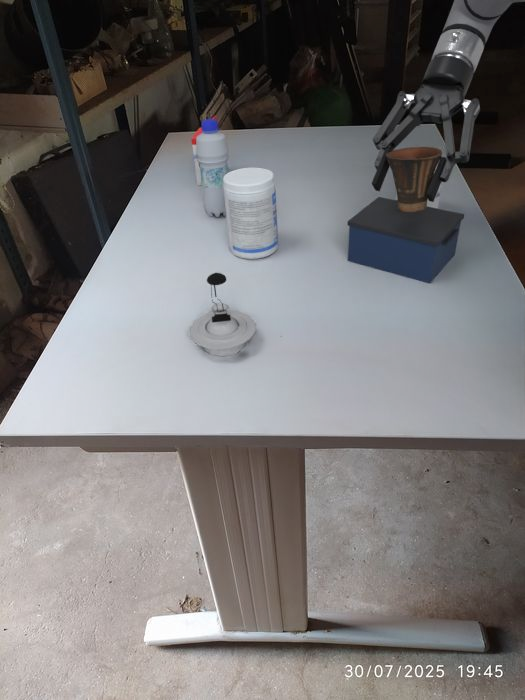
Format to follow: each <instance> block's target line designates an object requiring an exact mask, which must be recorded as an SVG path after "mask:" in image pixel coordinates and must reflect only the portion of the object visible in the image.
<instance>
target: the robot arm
mask: <svg viewBox="0 0 525 700" xmlns="http://www.w3.org/2000/svg"><path fill="white" fill-rule="evenodd" d="M514 3H525V0H453V3H452V6H451V9H450V11H449V14H448V16H447V19H446V22H445V24H444V27H443V29H442V32H441V34H440V36H439V39H438V41H437V44H436V46H435V48H434V51H433V53H432V55H431V59H430V61H429V63H428V65H427V68H426V70H425V73H424V76H423V78H422V81H421V84H420V87H419V88H418V89H417V91H416V92H415V93H406V92H405V90H401V91H399V92H398V94H397V98H396V102H395V104H394V105H393V107H392V108H391V111H389V113H388V115H387V116H386V118H385V119H384V121H383V122H382V124H381V126H380V127H379V128H378V130H377V131H376V133H375V135H374V136H373V138H372V142H373V144H374V146H375V148H376V150H378V151H379V152H378V154H377V156H376V159H375V161H374V167H375V169H376V170H375V173H374V176H373V179H372V181H371V185H372V187H373V189H374V191H376V192H380V191H381V189H382V187H383V184H384V182H385V179H386V177H387V174H388V172H389V169H390V165H389V163H388V161H387V157H386V154H387V153H389V152H391V151H393V150H396V148H397V147H398V146H399V145H400V144H401V143H402V142H403V141H404V140H405V139H406V138H407V137H408V136H409V135H410V134H411V133H412V132H413V131H414V130H415V129H416V127H419V126H420V125H422V124H423V123H424V122H426V123H431V122H433V123H434V124H435V123H436V124H439V125H440V124H442V128H443V129H442V130H443V138H444V144H445V154H446V157H445V156H442V157H441V158H440V160H439V163H438V165H437V168H436V170H435V173H434V175H433V178H432V180H431V183H430V185H429V188H428V190H427V193H426V195H427V198H428V200H429V201H431V202H434V199H435V197H436V194H437V192H438V189H439V187H440V184H441V182H442V183H448V181H449V179H450V177H451V174H452V172H453V169H454V167H455V165H456V164H460V163H462V164H467V163H468V162H469V160H470V156H471V148H472V142H473V135H474V127H475V121H476V119H477V117H478V115H479V113H480V112H481V107H480V100H479V99H478V98H477V97H474V98H473V99H471V100H470V99H465V97H466V94H467V92H468V90H469V87H470V85H471V82H472V80H473V77H474V73H475V72H476V69H477V68H478V65H479V63H480V60H481V56H482V54H483V52H484V49H485V47H486V43H487V41H488V39H489V36H490V34H491V32H492V30H493V27H494V26H495V24H496V23H497V21H498V20H499V19H500V17H501V16H502V15H503V14H505V12H506V11H507V9H509V7H510V6H511V5H512V4H514ZM412 104H415V106H414V107H412V109H411V110H410V107H411V105H412ZM462 109H463V115H464V118H463V125H462V132H461V138H460V145H459V151H456V146H455V137H454V130H453V121H452V120H453V119H452V117H453V116H454V115H455V114H457V113H459V112H460V111H462ZM407 110H410V111H409V113H408V115H407V116H406V117H405V118H404V119H403V120H402V118H403V117H404V115H405V114H406V111H407ZM401 120H402V121H401Z"/></svg>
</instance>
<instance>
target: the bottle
mask: <svg viewBox="0 0 525 700" xmlns="http://www.w3.org/2000/svg"><path fill="white" fill-rule="evenodd" d="M200 127H202V132H203V133H201V134H200V135H198V136H197V138H196V154H197V160H198V162H199V164H200V173H201V181H202V186H201V189H202V202H203V203H202V204H203V210H204V211H205V212H206V214H207V215H208V216H209V217H212V218H213V217H214V216H215V217H216V218H220V216H221V214H222V216H223V217H226V209H225V200H224V190H223V177H224V176H225V175H226V174H227V173H229V166H228V160H229V158H230V157H229V148H228V143H227V139H226V135H225V134H224V133H222V132H220V131H219V122H218V120H217V121H216V120H214V119H212V118H206V119H204V120H202V122H201V126H200Z"/></svg>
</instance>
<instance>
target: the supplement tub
mask: <svg viewBox="0 0 525 700" xmlns="http://www.w3.org/2000/svg"><path fill="white" fill-rule="evenodd" d="M276 189H277V188H276V182H275V175H274V172H272V170H270V169H267V168H263V167H243V168H237V169H233V170H231V171H228V173H227V174H226V175H225V176H224V177H223V190H224V200H225V209H226V216H225V217H226V227H227V235H228V243H229V249H230V252H231V253H232V254H233V255H234V256H236V257H239V258H241V259H244V260H258V259H262V258H266V257H269V256H271V255H272V254H274V253H275V252H276V251H277V250H278V247H279V235H278V234H279V233H278V211H277V210H278V209H277V193H276V192H277V190H276Z"/></svg>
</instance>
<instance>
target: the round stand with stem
mask: <svg viewBox="0 0 525 700" xmlns="http://www.w3.org/2000/svg"><path fill="white" fill-rule="evenodd" d="M226 282H227V277H226V275H224V274H223V273H221V272H214V273H211V274H209V275H208V276H207V278H206V283H207V284H209V285H210V294H211V297H213V290H214V297H215V298H217V301H219V302H214V301H213V300H211V302H212V303H213V305H212V306H211V310H209V311H208V312H206V313H204V314H202V315H201V316H199V317H197V318H196V319H195V320H193V322H192V323H191V325H190V326H189V332H188V335H189V337H190V340H191V341H192V342H193V343H195V344H196V345H198V346H199V347H202V348H203V349H204V351H205V352H206V353H208V354H209V355H211V356H216V357H227V356H232V355H235V354H237V353H240V351H242V350H243V349H244V347H245V345H246V344H247V342H248V341H249V340H250V339H252V337H253V336H254V334H255V332H256V329H257V327H256V326H257V325H256V322H255V320H254V319H253V318H252V316H250V314H249V315H248V314H247V313H245V312H243V311H241V310H235V309H229V308H230V307H229V306H230V305H229V304H227V303H225V302H222V300H221V299H219V298H218V297H217V291H216V290H217V289H216V286H220V285H223V284H224V283H226ZM212 286H213V287H212ZM212 289H213V290H212Z"/></svg>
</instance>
